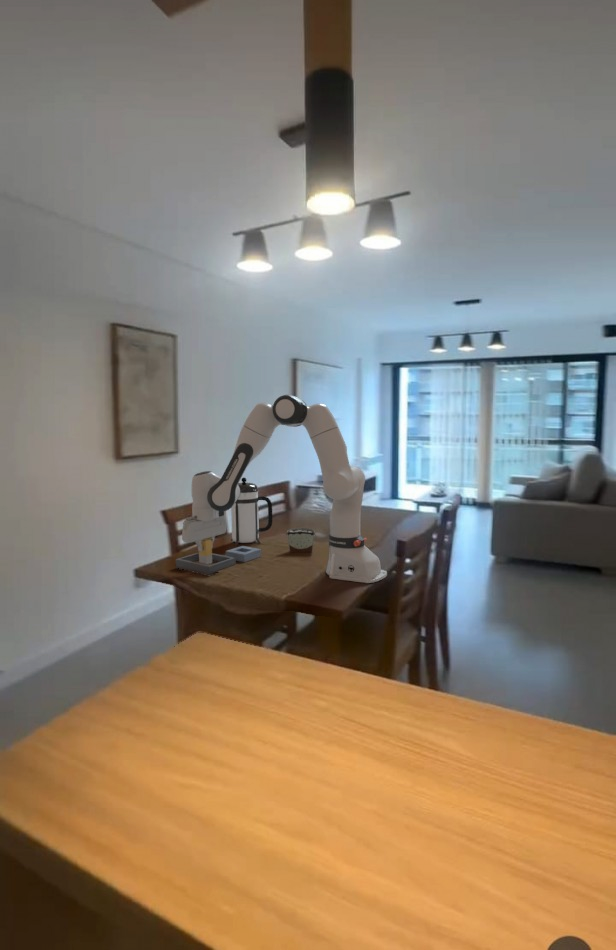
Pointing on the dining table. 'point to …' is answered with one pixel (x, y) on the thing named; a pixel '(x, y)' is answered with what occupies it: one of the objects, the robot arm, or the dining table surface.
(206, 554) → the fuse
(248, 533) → the coffee press
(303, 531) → the food container
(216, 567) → the parts tray
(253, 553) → the socket block
